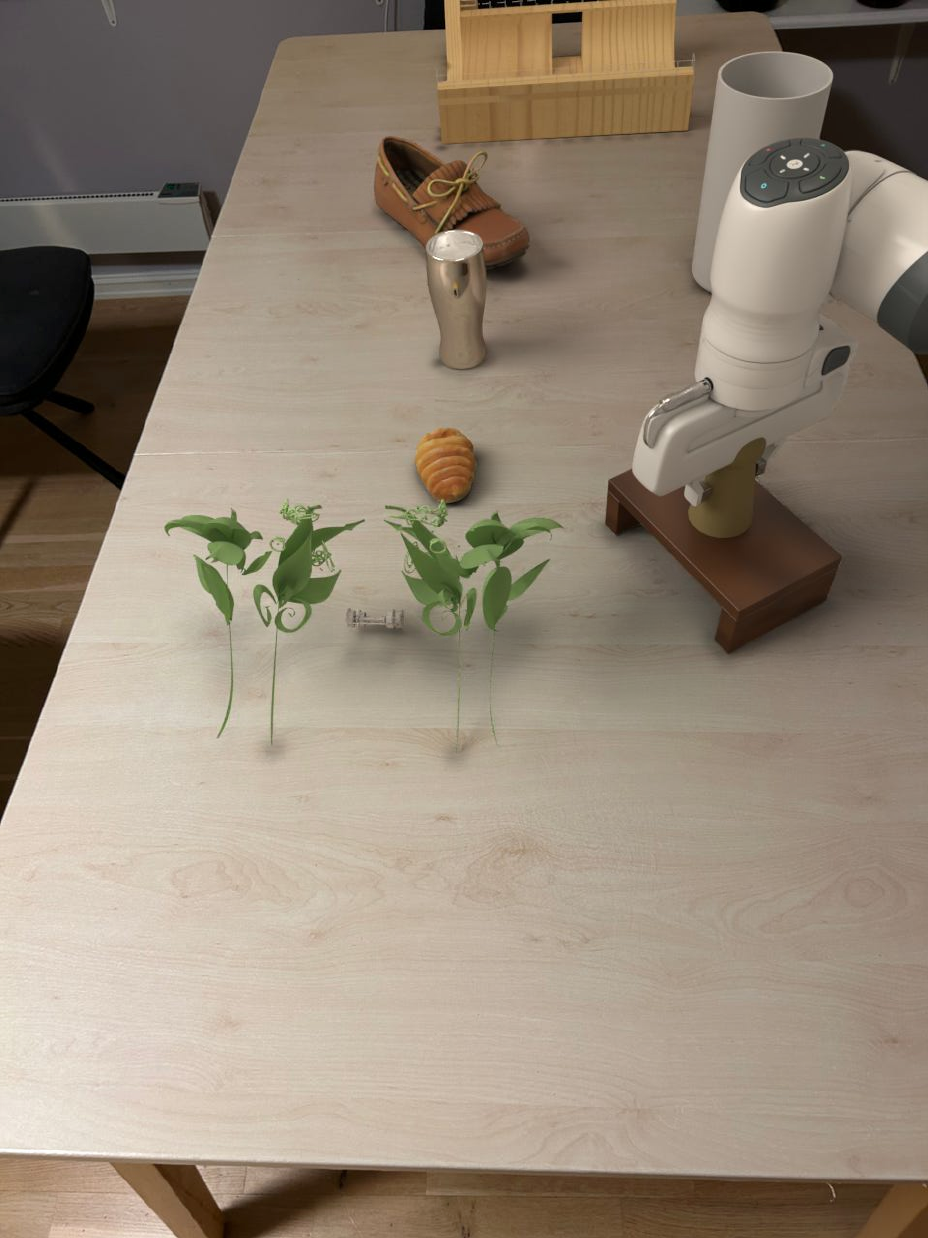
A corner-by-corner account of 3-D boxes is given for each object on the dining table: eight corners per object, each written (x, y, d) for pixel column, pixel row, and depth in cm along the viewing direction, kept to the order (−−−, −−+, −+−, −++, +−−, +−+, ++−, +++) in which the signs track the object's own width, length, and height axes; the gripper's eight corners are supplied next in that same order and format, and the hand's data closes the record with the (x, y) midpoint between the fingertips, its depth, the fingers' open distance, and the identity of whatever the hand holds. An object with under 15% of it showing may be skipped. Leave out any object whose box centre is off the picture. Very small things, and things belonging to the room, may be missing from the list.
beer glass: (459, 379, 115) (449, 268, 103) (424, 354, 119) (411, 244, 107) (502, 354, 118) (497, 244, 106) (466, 331, 121) (458, 221, 109)
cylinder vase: (683, 296, 123) (710, 95, 103) (698, 245, 130) (725, 48, 110) (782, 307, 120) (828, 102, 100) (791, 254, 127) (836, 54, 107)
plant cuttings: (559, 745, 90) (563, 515, 90) (560, 771, 73) (565, 488, 73) (209, 733, 94) (214, 512, 94) (132, 756, 77) (139, 486, 77)
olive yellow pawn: (761, 504, 90) (785, 414, 81) (739, 546, 87) (760, 457, 78) (702, 485, 92) (718, 395, 83) (678, 524, 89) (692, 436, 80)
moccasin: (540, 277, 128) (540, 190, 118) (458, 305, 125) (451, 219, 115) (443, 181, 146) (436, 100, 136) (370, 204, 143) (357, 122, 133)
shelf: (696, 480, 101) (704, 434, 96) (826, 600, 90) (843, 556, 85) (604, 524, 98) (608, 479, 93) (727, 654, 87) (739, 611, 82)
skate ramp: (441, 150, 154) (432, 44, 141) (450, 53, 175) (442, -47, 162) (687, 136, 151) (700, 27, 138) (666, 40, 172) (676, -63, 159)
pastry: (484, 502, 102) (482, 476, 99) (423, 512, 101) (419, 486, 98) (471, 445, 107) (468, 419, 104) (413, 454, 107) (409, 429, 104)
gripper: (672, 428, 71) (654, 551, 82) (875, 336, 76) (833, 463, 87) (623, 385, 74) (612, 508, 85) (821, 299, 80) (787, 426, 90)
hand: (725, 485), depth 86 cm, fingers open, 5 cm apart
